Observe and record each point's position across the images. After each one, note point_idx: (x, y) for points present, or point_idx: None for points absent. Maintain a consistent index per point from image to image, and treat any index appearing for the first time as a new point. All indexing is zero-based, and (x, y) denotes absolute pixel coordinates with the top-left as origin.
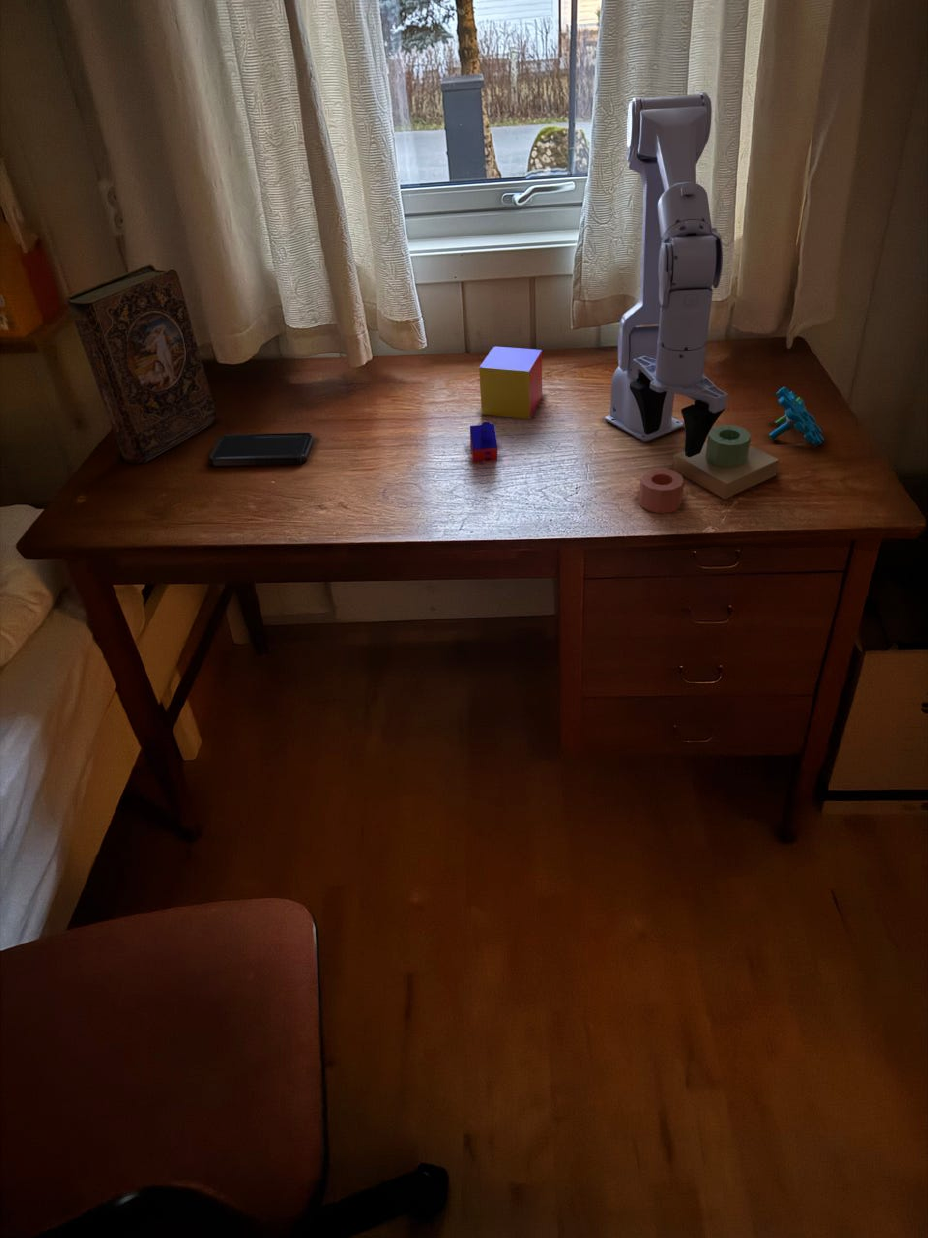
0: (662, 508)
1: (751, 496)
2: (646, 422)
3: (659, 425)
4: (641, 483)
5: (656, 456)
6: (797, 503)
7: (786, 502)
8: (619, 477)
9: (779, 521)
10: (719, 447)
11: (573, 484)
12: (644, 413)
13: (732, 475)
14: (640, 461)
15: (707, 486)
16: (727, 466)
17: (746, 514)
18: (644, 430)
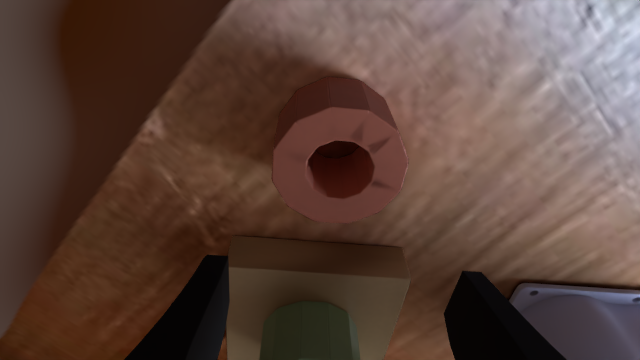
0: (292, 101)
1: None
2: (492, 316)
3: (449, 331)
4: (382, 116)
5: (466, 261)
6: (133, 305)
7: (148, 296)
8: (497, 145)
9: (95, 247)
10: (297, 347)
11: (610, 20)
12: (529, 357)
13: (243, 295)
14: (488, 227)
15: (288, 244)
16: (276, 310)
17: (156, 224)
18: (485, 280)
